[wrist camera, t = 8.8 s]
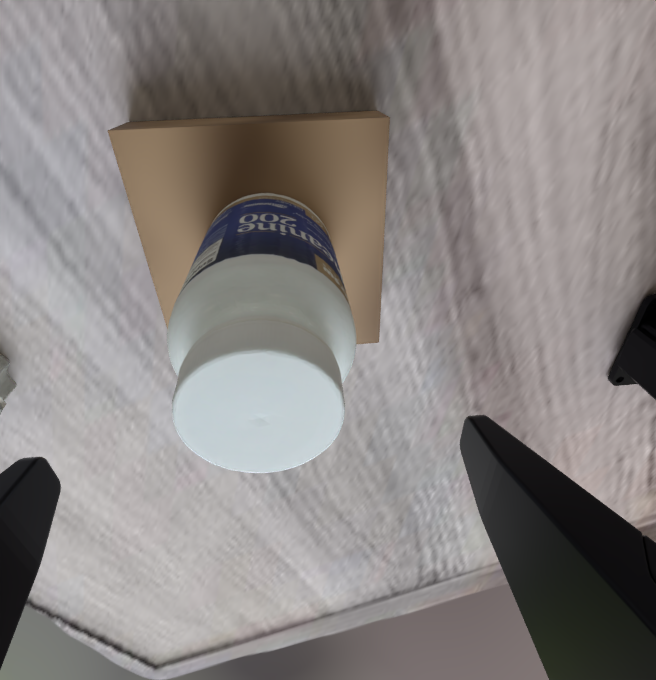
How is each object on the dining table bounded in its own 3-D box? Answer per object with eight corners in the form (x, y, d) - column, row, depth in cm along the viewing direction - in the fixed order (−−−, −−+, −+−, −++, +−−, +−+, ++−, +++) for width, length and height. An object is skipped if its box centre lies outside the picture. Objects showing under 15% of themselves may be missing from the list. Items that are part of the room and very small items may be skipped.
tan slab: (376, 110, 17) (389, 117, 15) (370, 317, 23) (378, 342, 21) (128, 122, 16) (107, 130, 14) (185, 331, 22) (176, 358, 20)
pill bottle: (357, 235, 17) (423, 386, 9) (291, 327, 20) (298, 511, 12) (242, 160, 15) (200, 271, 7) (183, 272, 18) (101, 452, 10)
